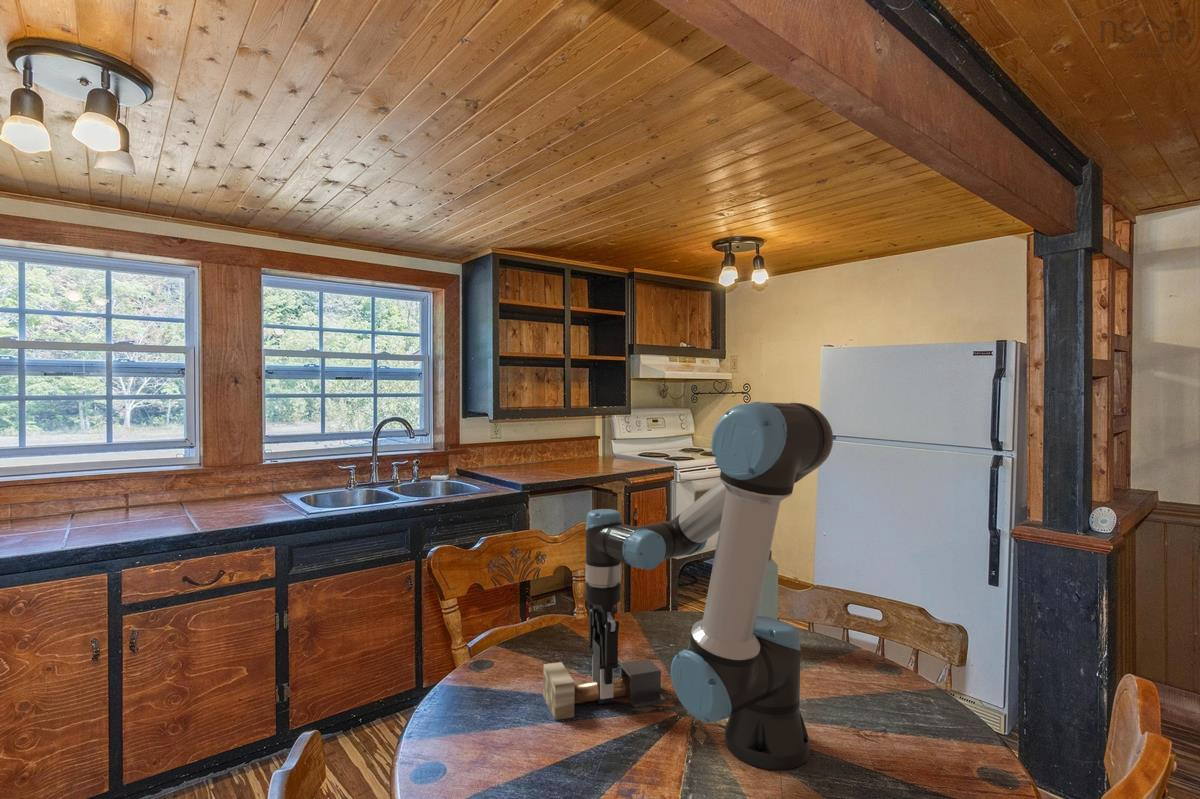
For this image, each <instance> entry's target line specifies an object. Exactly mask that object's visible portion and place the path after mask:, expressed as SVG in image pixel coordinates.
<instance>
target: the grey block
mask: <svg viewBox="0 0 1200 799" xmlns="http://www.w3.org/2000/svg"><path fill="white" fill-rule="evenodd" d="M619 664H620V665H619V668H620V669H619V672H620V673H619V678H621V677H627V676H629V677H630V695H629V702H630V704H631V705H632V707H634V709H635V708H637V709H638V708H641V707H643V708H644V707H648V706H653V705H654V704H655V705H661V704H665V703H666V698H665V697H664V696H663V694H661V693H662V690H661V689H662V688H661V685H662V682H661V681H662V670H661V669H660V668H659V667H658V666H657V665H656V664H655V663H654V662H653V661H652V660H651V659H650V658H646V659H640V660H639V659H638V660H632V661H627V662H625V661H623V662H620V663H619ZM660 703H661V704H660Z"/></svg>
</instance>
